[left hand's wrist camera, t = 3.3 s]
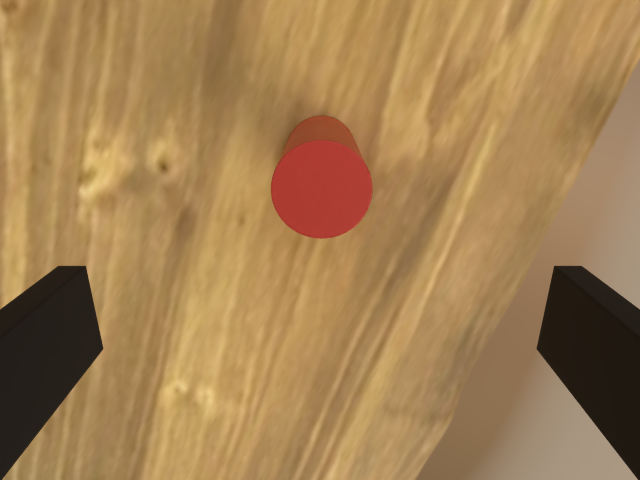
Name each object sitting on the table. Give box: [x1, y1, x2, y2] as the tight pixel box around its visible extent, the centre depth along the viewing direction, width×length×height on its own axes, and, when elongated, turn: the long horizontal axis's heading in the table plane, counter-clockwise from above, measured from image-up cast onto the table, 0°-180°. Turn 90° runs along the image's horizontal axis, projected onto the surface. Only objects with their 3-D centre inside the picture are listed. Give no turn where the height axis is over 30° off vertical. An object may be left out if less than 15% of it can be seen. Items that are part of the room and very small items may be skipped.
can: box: [271, 116, 372, 238], centre depth 30 cm, size 6×6×13 cm
